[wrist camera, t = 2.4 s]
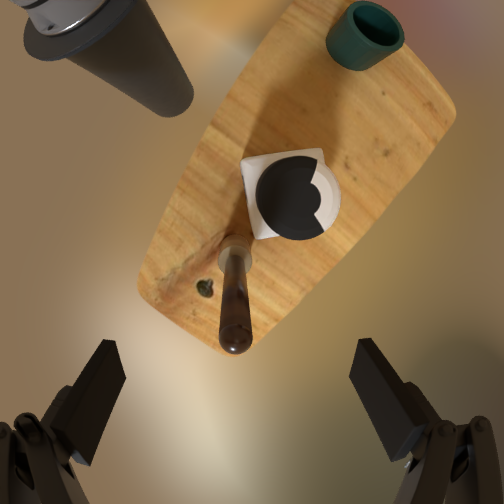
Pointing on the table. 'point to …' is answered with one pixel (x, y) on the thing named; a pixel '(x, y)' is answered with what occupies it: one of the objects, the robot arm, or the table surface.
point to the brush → (235, 295)
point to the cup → (364, 36)
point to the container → (290, 194)
